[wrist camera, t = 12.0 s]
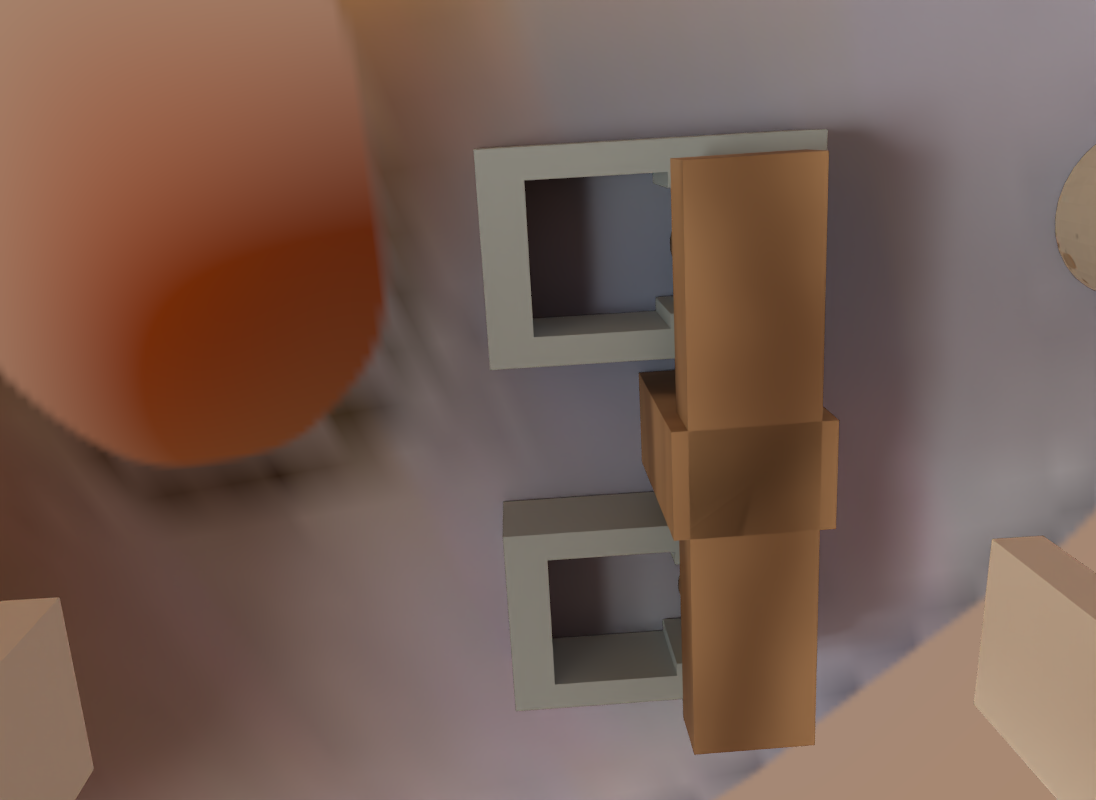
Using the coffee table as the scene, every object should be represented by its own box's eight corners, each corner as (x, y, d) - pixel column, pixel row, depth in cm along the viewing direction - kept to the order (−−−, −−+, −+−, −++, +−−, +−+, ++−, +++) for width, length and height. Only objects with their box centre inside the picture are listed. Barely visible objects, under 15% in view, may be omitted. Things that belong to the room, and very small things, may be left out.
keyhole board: (515, 663, 37) (515, 711, 34) (476, 148, 31) (473, 149, 28) (786, 643, 37) (811, 689, 34) (796, 129, 31) (827, 129, 28)
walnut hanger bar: (648, 642, 37) (679, 755, 30) (631, 155, 32) (664, 161, 25) (771, 632, 37) (829, 743, 30) (775, 145, 32) (847, 149, 25)
